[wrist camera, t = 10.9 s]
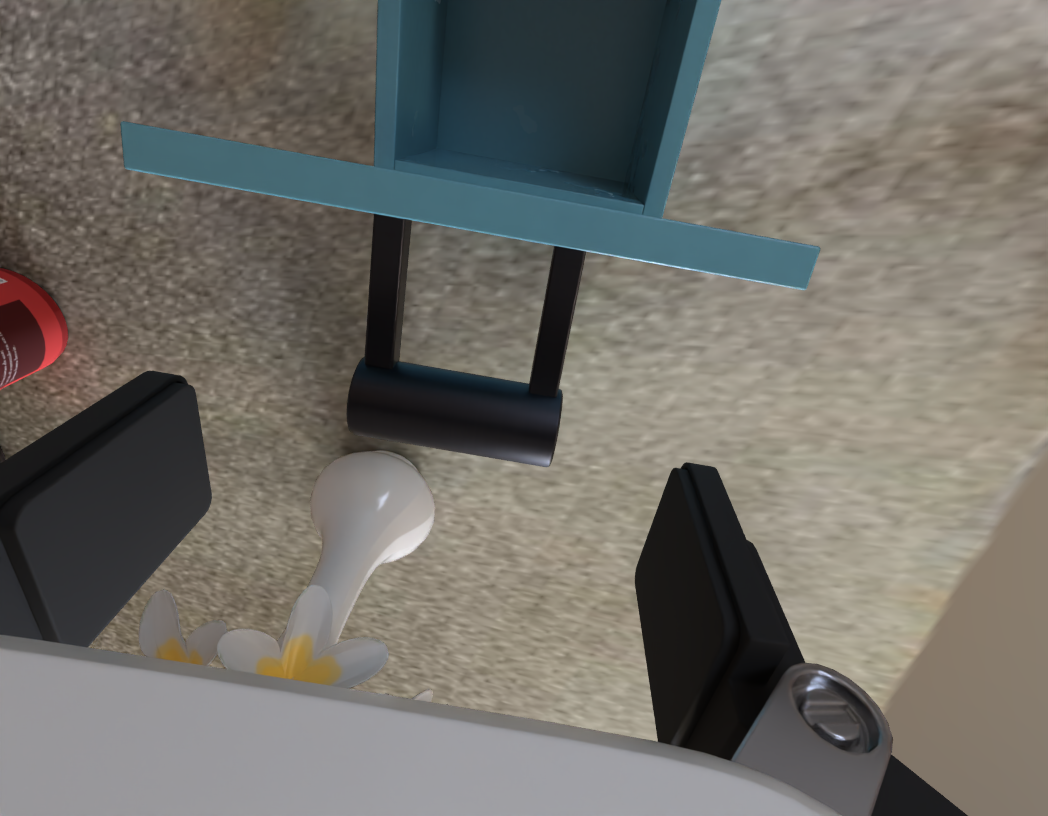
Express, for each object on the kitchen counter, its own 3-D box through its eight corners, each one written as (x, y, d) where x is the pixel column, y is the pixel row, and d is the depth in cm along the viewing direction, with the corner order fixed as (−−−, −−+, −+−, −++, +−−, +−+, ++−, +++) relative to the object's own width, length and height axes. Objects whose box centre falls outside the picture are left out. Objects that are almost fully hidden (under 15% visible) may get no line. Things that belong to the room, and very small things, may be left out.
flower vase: (459, 576, 49) (375, 956, 27) (263, 485, 45) (-20, 837, 23) (534, 476, 43) (505, 855, 21) (316, 363, 39) (7, 676, 17)
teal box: (444, -152, 26) (384, -287, 17) (706, -102, 26) (778, -209, 17) (423, 161, 33) (373, 178, 24) (633, 198, 33) (659, 229, 24)
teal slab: (118, 120, 10) (146, 440, 12) (822, 247, 10) (720, 537, 12) (370, 169, 23) (361, 313, 26) (663, 221, 24) (629, 360, 26)
